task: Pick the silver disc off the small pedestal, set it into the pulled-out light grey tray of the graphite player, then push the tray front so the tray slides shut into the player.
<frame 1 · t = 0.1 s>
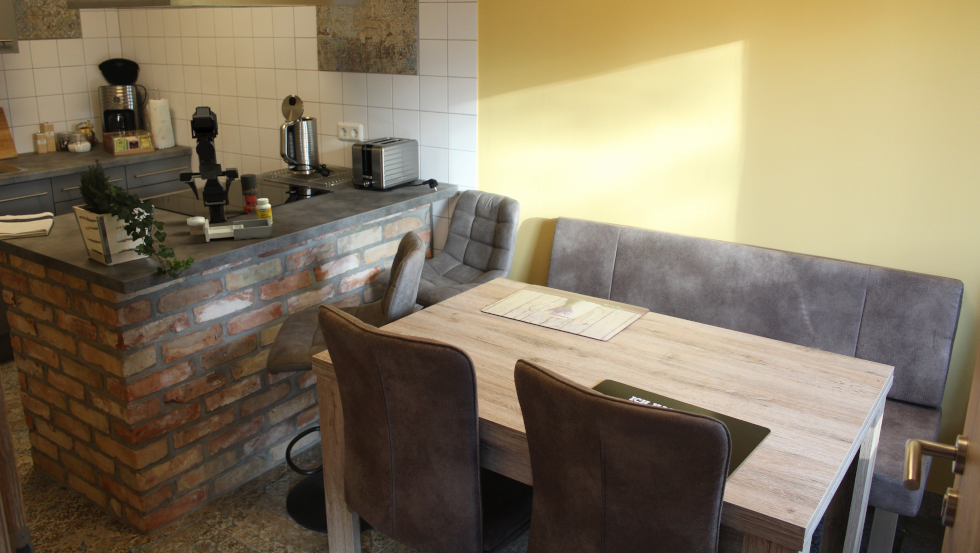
hand: (212, 199, 250), 15 cm above the table, tool pointing down, fingers open, 9 cm apart
housing: (253, 234, 262), on the table
pedestal: (197, 232, 264), on the table
deodorant: (252, 212, 293), on the table
tray: (223, 228, 258), point 3 cm above the table, slide at 8.0 cm
supplement bottle: (265, 224, 276), on the table
disc: (196, 223, 263), point 3 cm above the table, touching pedestal
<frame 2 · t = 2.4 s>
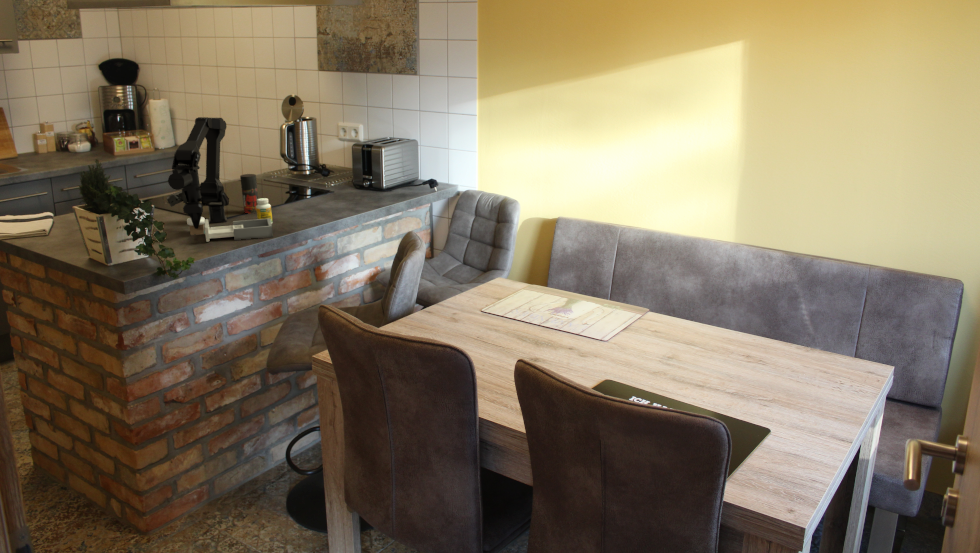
hand: (196, 226, 263), 2 cm above the table, tool pointing down, fingers closed on disc, 6 cm apart
disc: (196, 223, 263), point 4 cm above the table, touching gripper, pedestal
everything else where it was.
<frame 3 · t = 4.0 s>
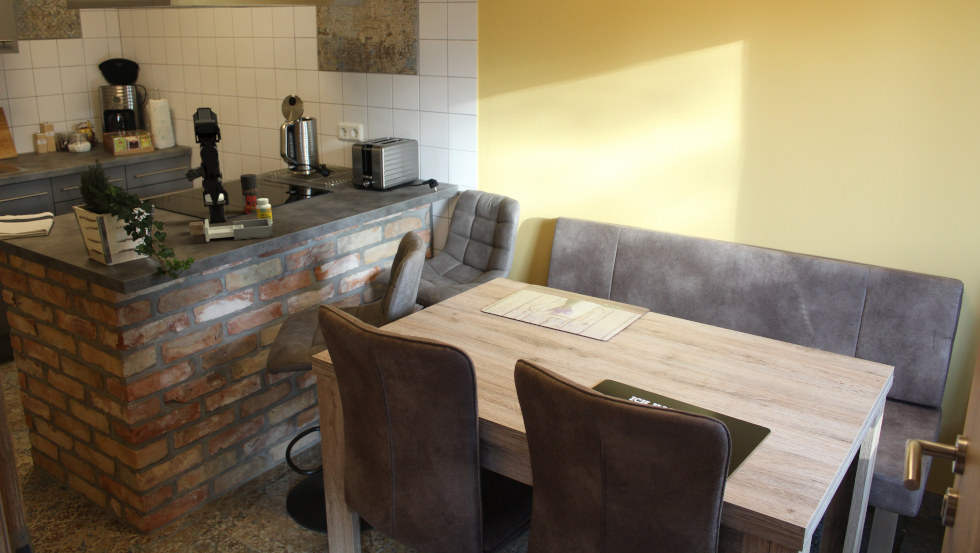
hand: (215, 203, 254), 12 cm above the table, tool pointing down, fingers closed on disc, 6 cm apart
disc: (214, 200, 254), point 13 cm above the table, touching gripper
everything else where it was.
when the fingers open (3 cm above the table, at t = 5.9 s): disc drops 2 cm, resting on tray.
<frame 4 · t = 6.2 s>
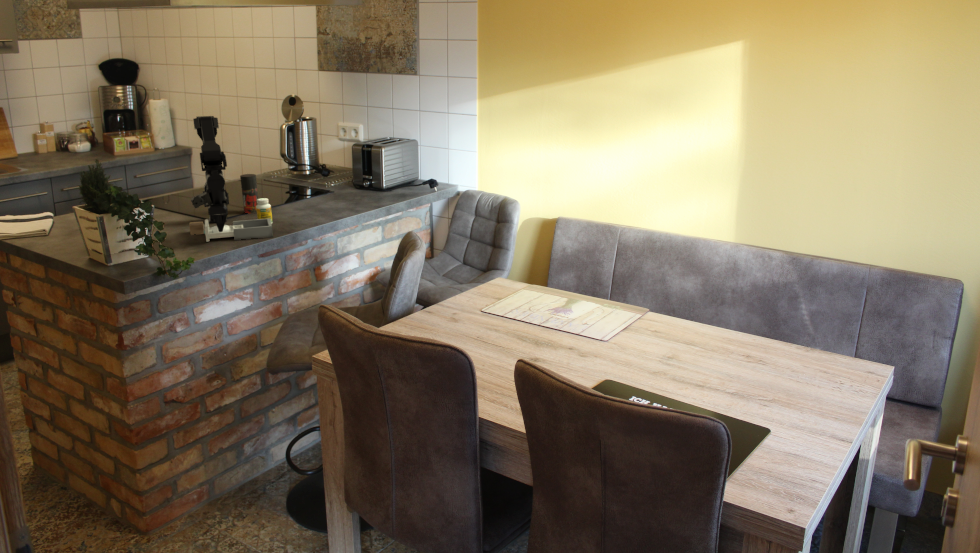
hand: (220, 228, 257), 3 cm above the table, tool pointing down, fingers open, 9 cm apart
tray: (223, 228, 258), point 3 cm above the table, slide at 8.0 cm, touching disc
disc: (220, 231, 258), point 2 cm above the table, touching tray
everything else where it was.
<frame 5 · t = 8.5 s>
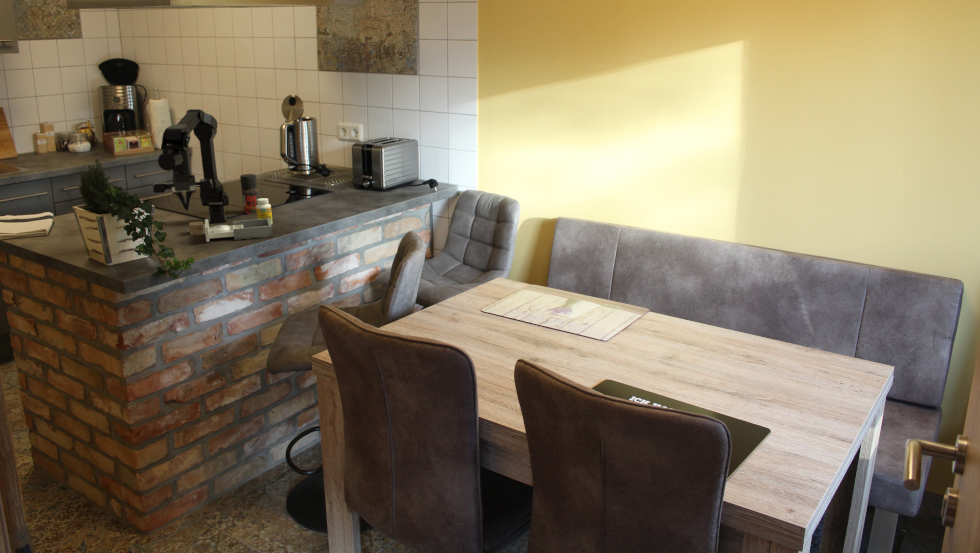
hand: (186, 210, 252), 11 cm above the table, tool pointing down, fingers closed
nothing on the table moved.
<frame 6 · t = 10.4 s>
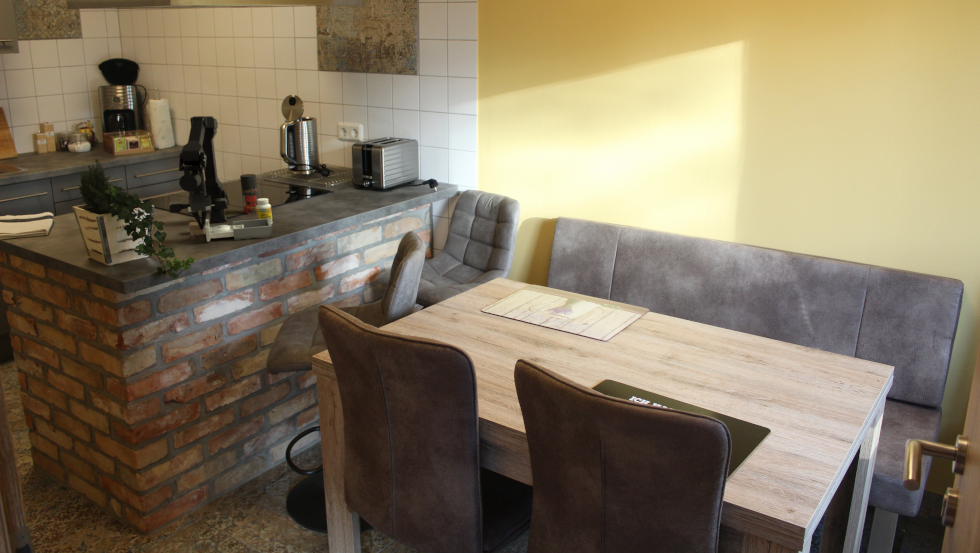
hand: (202, 229, 255), 3 cm above the table, tool pointing down, fingers closed
tray: (224, 228, 258), point 3 cm above the table, slide at 7.8 cm, touching disc, gripper
everything else where it was.
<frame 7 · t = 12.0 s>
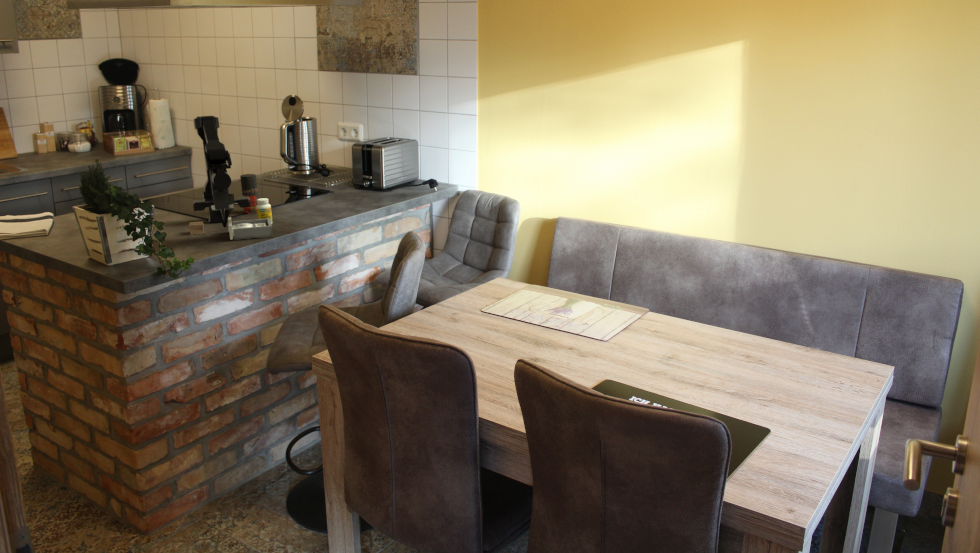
hand: (224, 227, 258), 3 cm above the table, tool pointing down, fingers closed
tray: (246, 226, 260), point 3 cm above the table, slide at 0.2 cm, touching disc, gripper
disc: (243, 230, 260), point 2 cm above the table, touching tray
everything else where it was.
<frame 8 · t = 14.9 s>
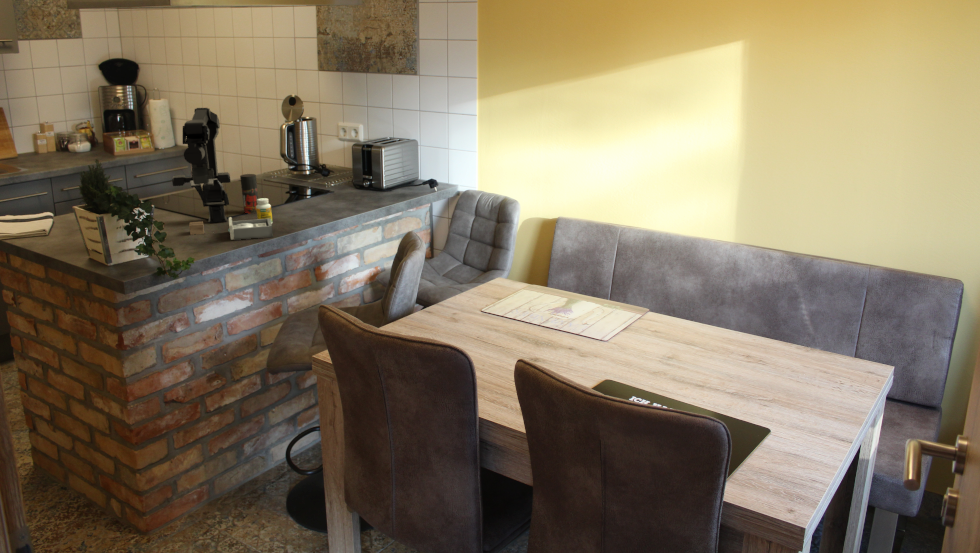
hand: (204, 203, 256), 12 cm above the table, tool pointing down, fingers closed
tray: (247, 226, 260), point 3 cm above the table, slide at 0.0 cm, touching disc
everything else where it was.
at the end: tray slide at 0.0 cm; disc inside the target area on the housing (2.8 cm from its centre), point 1.9 cm above the housing's base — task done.
